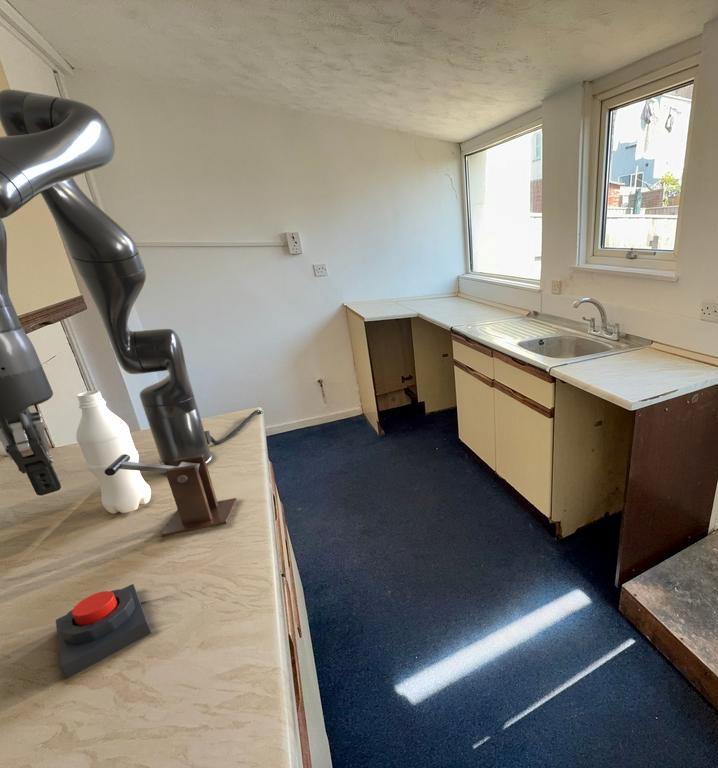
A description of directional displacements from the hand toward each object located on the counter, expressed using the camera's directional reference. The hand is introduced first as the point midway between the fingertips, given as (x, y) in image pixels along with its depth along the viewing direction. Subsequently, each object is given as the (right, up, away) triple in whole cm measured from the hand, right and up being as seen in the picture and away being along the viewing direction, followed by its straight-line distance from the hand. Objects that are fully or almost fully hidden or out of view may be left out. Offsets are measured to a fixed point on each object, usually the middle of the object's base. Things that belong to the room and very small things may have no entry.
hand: (49, 490), depth 53 cm
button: (+6, -17, +1) cm, 18 cm away
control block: (+6, -20, +2) cm, 21 cm away
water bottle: (-16, -11, +28) cm, 34 cm away
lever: (-3, -2, +19) cm, 19 cm away
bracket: (+2, -12, +24) cm, 27 cm away
